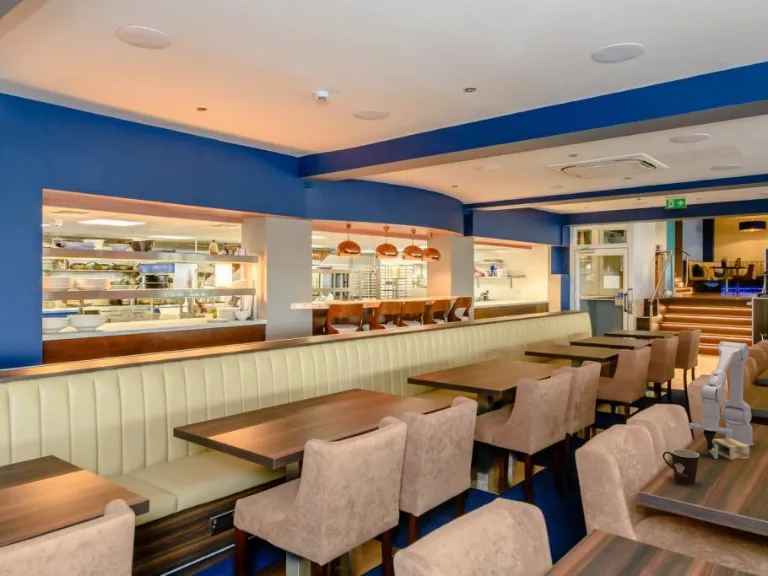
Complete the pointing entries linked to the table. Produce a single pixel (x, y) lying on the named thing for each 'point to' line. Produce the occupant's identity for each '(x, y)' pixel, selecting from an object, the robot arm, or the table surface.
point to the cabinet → (732, 448)
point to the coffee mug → (684, 465)
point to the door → (714, 450)
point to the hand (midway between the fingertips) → (709, 449)
